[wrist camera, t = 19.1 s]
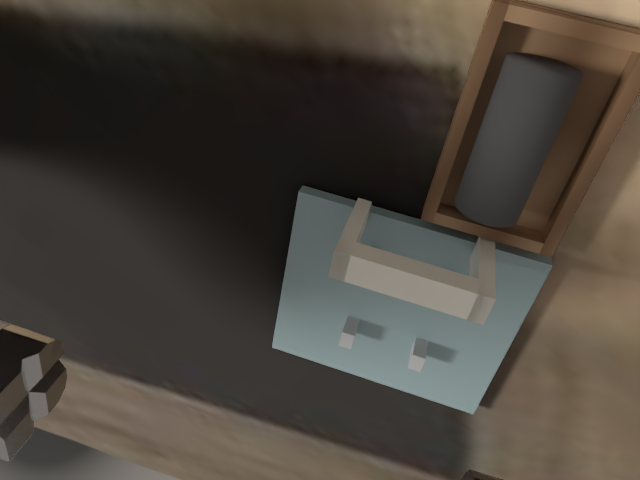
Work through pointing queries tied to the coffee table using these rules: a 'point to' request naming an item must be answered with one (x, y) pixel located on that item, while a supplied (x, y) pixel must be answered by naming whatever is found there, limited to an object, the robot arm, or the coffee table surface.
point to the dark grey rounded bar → (515, 137)
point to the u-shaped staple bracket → (416, 273)
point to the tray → (575, 131)
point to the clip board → (398, 305)
